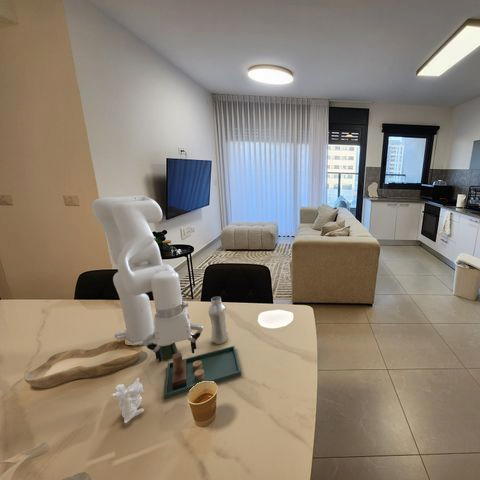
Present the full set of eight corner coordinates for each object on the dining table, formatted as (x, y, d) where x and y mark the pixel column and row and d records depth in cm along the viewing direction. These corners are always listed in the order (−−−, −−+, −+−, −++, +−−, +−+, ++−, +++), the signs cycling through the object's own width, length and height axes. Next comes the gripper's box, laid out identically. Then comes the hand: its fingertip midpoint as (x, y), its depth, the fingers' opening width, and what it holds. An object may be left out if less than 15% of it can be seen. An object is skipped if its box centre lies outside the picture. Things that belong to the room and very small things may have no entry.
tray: (165, 400, 82) (164, 395, 81) (168, 368, 95) (167, 363, 94) (241, 376, 92) (240, 371, 91) (234, 350, 105) (234, 345, 104)
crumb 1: (193, 371, 92) (192, 367, 92) (193, 366, 95) (192, 361, 94) (202, 369, 94) (201, 364, 93) (202, 363, 96) (201, 359, 96)
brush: (173, 390, 85) (169, 367, 82) (174, 369, 93) (171, 348, 91) (186, 386, 86) (183, 363, 84) (187, 366, 95) (183, 345, 93)
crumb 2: (195, 381, 88) (194, 376, 88) (194, 375, 91) (194, 370, 90) (204, 378, 89) (204, 373, 89) (204, 372, 92) (203, 367, 92)
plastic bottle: (223, 347, 106) (219, 303, 101) (208, 345, 108) (203, 301, 102) (231, 337, 112) (228, 295, 107) (217, 335, 114) (213, 294, 108)
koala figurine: (127, 431, 72) (119, 396, 69) (109, 424, 74) (100, 390, 71) (153, 405, 80) (147, 373, 77) (136, 400, 82) (130, 368, 79)
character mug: (161, 368, 95) (156, 337, 91) (148, 362, 98) (143, 332, 94) (187, 350, 104) (183, 321, 101) (175, 345, 107) (171, 317, 104)
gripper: (199, 298, 90) (204, 341, 94) (139, 310, 82) (148, 356, 87) (200, 308, 83) (206, 354, 87) (135, 321, 76) (145, 371, 80)
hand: (177, 355), depth 87 cm, fingers open, 9 cm apart
